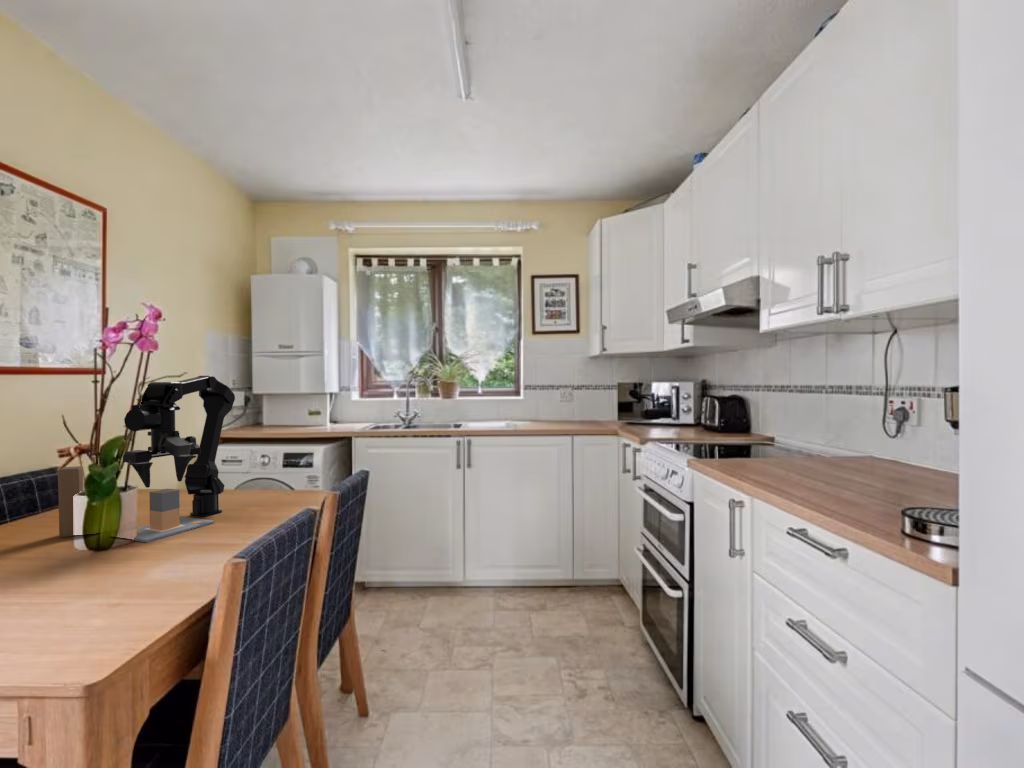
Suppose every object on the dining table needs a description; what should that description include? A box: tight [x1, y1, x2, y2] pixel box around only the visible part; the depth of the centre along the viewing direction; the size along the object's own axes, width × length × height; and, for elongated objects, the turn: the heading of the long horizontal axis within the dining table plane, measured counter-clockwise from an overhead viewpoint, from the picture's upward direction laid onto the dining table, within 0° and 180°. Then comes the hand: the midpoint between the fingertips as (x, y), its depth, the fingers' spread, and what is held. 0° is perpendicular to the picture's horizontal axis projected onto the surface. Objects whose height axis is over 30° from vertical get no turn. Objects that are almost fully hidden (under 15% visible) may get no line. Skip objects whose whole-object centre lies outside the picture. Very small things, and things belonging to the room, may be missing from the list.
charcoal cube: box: [148, 488, 181, 512], centre depth 155 cm, size 5×5×5 cm
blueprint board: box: [133, 515, 216, 543], centre depth 155 cm, size 20×14×1 cm
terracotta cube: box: [149, 508, 180, 530], centre depth 155 cm, size 5×5×5 cm
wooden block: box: [57, 465, 84, 539], centre depth 151 cm, size 9×4×18 cm, turn 115°
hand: (164, 484), depth 155 cm, fingers open, 9 cm apart
